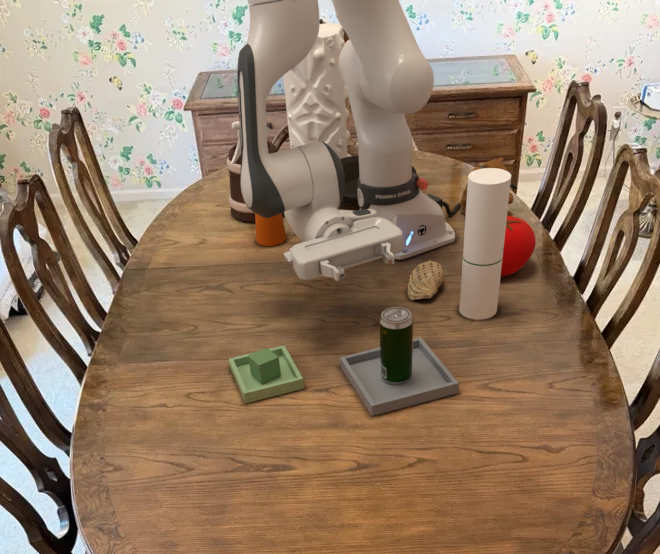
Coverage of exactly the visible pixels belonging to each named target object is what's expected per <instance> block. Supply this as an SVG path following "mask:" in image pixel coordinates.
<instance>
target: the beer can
mask: <svg viewBox="0 0 660 554" xmlns="http://www.w3.org/2000/svg"><path fill="white" fill-rule="evenodd" d="M413 336H414V319H413V314H412V311H411V310H410V309H408V308H406V307H402V306H392V307H389V308H386V309H384V310H383V311H382V312H381V315H380V318H379V347H380V357H381V376H382V378H383V380H384V381H385V382H386V383H388V384H391V385H401V384H404V383H406V382H408V381H409V379H410V378H411V376H412V353H413V339H414V337H413Z"/></svg>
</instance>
